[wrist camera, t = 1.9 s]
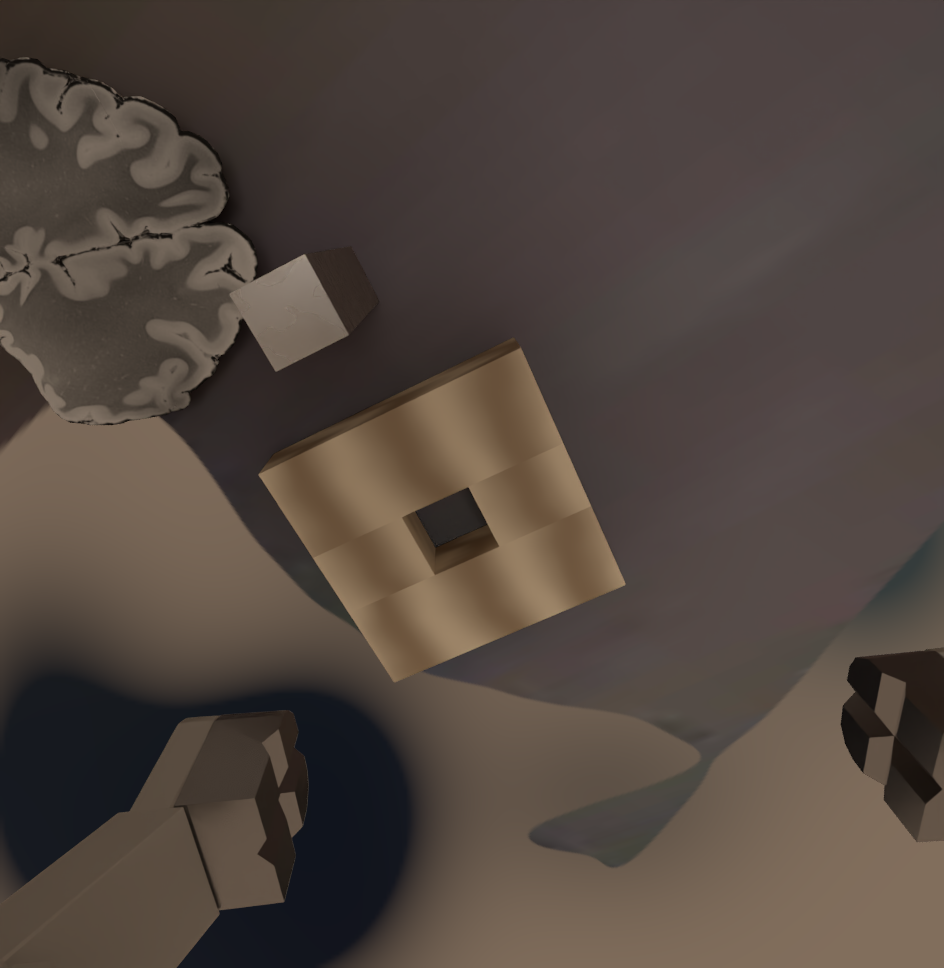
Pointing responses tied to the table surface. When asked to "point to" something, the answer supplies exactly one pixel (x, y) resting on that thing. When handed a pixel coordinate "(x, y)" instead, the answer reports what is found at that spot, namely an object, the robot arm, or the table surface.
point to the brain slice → (111, 248)
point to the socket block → (431, 477)
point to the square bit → (306, 304)
